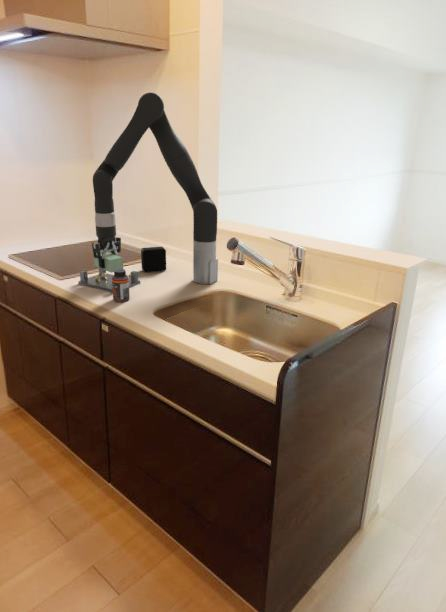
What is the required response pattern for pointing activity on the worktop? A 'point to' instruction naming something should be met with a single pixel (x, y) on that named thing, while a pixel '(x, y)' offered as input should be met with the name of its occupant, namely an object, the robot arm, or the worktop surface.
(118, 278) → the supplement bottle
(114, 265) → the pale green rectangular block
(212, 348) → the worktop surface
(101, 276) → the chassis
